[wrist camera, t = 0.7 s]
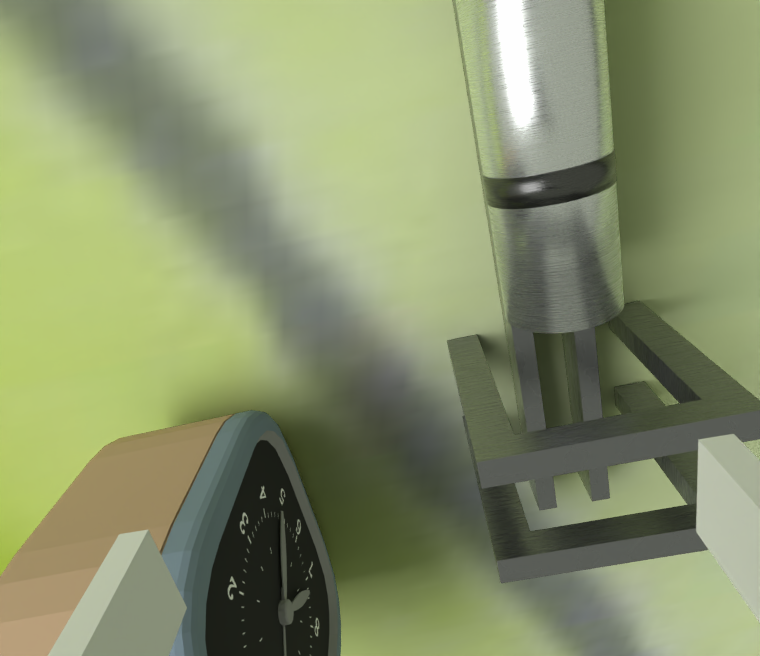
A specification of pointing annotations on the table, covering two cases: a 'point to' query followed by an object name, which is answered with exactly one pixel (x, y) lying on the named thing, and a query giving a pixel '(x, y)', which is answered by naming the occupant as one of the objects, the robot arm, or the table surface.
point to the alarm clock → (188, 542)
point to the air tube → (547, 157)
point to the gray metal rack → (593, 437)
